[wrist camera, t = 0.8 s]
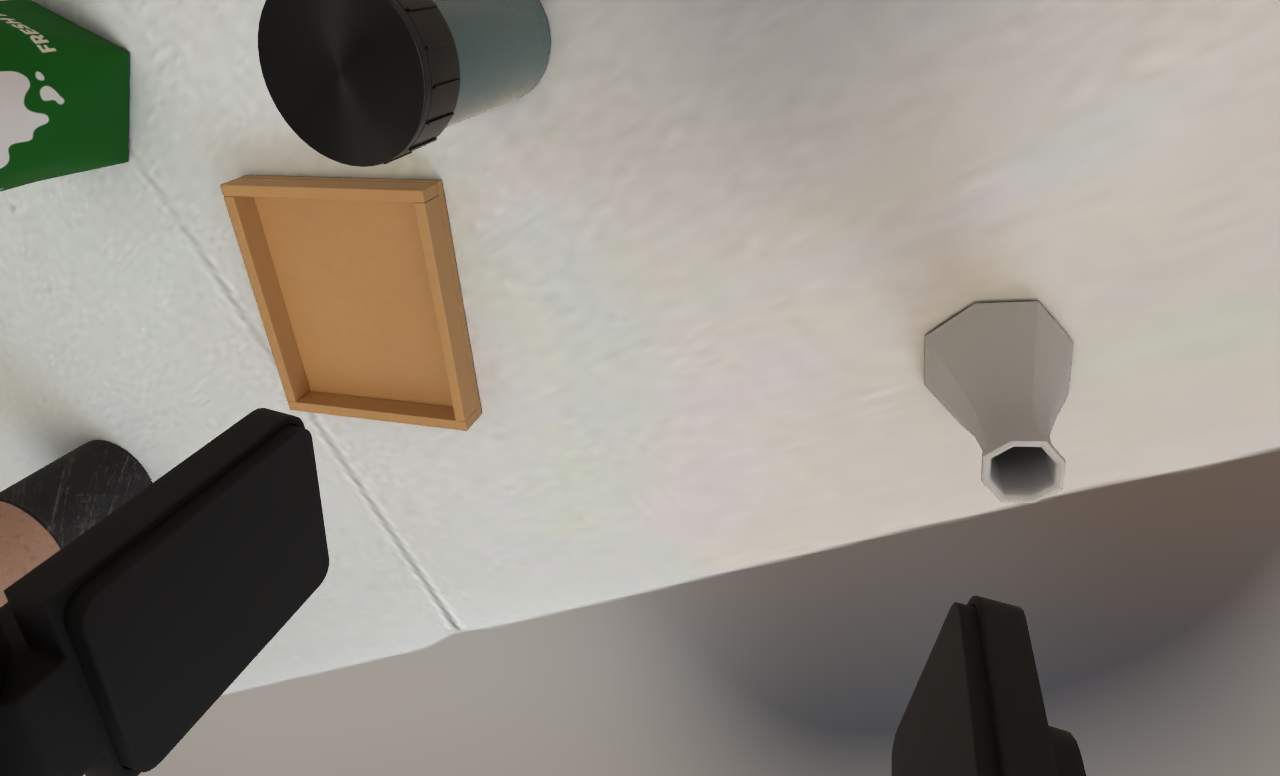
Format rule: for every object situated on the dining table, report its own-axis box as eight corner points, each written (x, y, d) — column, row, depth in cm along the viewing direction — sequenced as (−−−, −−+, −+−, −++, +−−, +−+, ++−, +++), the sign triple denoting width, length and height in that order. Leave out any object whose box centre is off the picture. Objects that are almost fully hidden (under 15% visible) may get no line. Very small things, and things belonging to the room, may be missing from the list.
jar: (427, -31, 38) (253, -22, 28) (543, -37, 36) (405, -31, 26) (448, 101, 41) (299, 154, 31) (556, 100, 39) (437, 156, 29)
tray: (245, 175, 47) (219, 184, 45) (441, 180, 43) (422, 190, 42) (310, 394, 54) (290, 410, 53) (482, 413, 51) (467, 431, 49)
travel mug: (96, 421, 63) (-194, 594, 46) (170, 486, 64) (-84, 677, 47) (67, 464, 67) (-209, 638, 50) (138, 524, 68) (-107, 713, 51)
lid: (283, -34, 29) (233, -32, 27) (444, -43, 28) (405, -42, 25) (327, 150, 33) (286, 166, 31) (474, 153, 31) (441, 169, 29)
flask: (946, 437, 43) (959, 556, 34) (901, 324, 40) (904, 424, 32) (1091, 400, 39) (1145, 523, 31) (1052, 276, 37) (1099, 372, 29)
